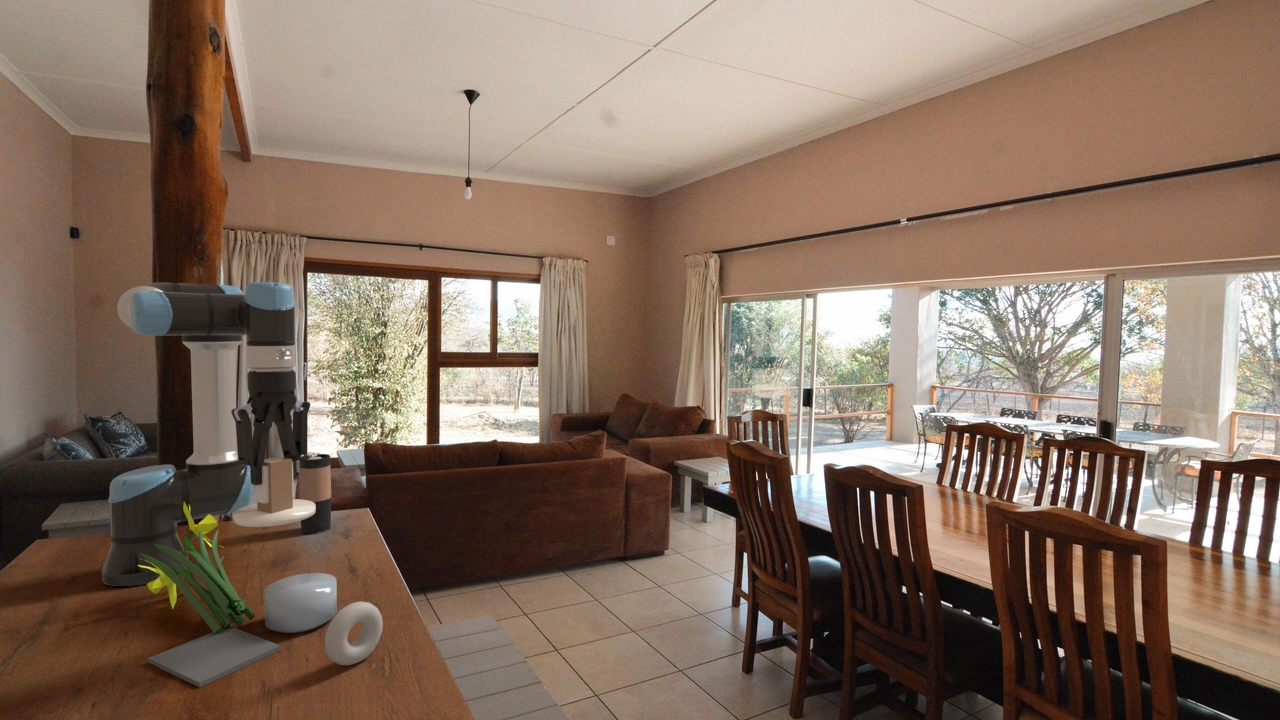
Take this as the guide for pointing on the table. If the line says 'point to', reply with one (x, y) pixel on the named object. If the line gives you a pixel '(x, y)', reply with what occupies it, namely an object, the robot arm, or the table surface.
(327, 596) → the light blue short cylinder
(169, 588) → the daffodil flowers
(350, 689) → the table surface
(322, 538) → the table surface
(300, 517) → the lid
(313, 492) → the travel mug
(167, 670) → the mat
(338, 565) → the table surface
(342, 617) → the donut
